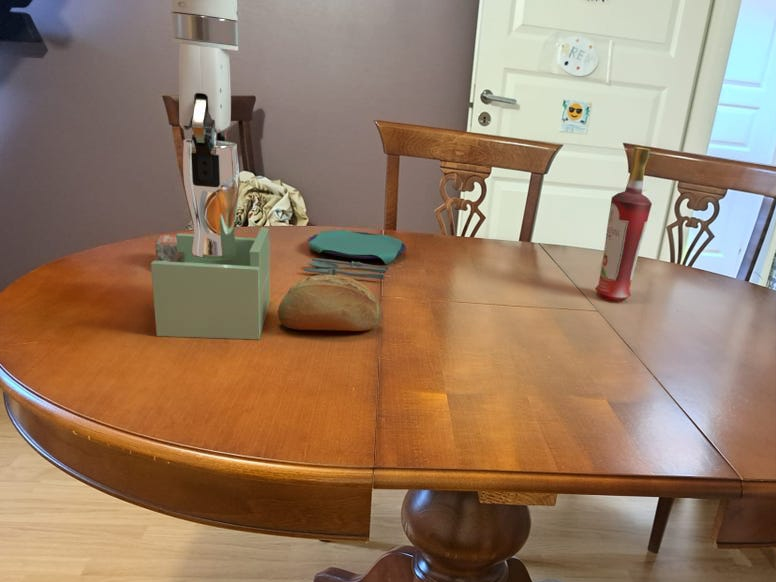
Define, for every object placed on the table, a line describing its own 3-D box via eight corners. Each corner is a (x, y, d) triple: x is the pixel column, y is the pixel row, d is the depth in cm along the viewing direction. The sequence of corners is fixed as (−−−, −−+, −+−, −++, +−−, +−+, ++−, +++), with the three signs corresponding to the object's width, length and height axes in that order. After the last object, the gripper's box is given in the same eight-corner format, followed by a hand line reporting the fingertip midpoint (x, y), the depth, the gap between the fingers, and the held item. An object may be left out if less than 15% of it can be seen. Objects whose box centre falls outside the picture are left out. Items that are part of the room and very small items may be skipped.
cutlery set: (410, 246, 147) (411, 236, 146) (393, 285, 119) (394, 273, 118) (320, 235, 146) (320, 225, 145) (282, 273, 119) (282, 260, 118)
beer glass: (244, 249, 96) (242, 142, 90) (237, 262, 90) (234, 148, 84) (193, 245, 95) (188, 136, 89) (182, 259, 89) (175, 142, 83)
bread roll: (384, 343, 95) (388, 289, 91) (275, 340, 91) (275, 284, 88) (379, 319, 103) (382, 269, 100) (279, 315, 100) (279, 264, 96)
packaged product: (152, 244, 109) (156, 229, 117) (154, 272, 111) (158, 256, 119) (266, 246, 115) (262, 232, 124) (267, 273, 117) (263, 257, 126)
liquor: (586, 291, 130) (614, 144, 119) (618, 292, 133) (649, 147, 122) (603, 304, 124) (635, 149, 113) (637, 304, 127) (671, 153, 116)
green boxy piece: (156, 336, 88) (149, 247, 83) (182, 297, 102) (177, 219, 97) (259, 339, 91) (258, 254, 86) (270, 301, 105) (269, 226, 100)
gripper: (187, 32, 88) (194, 168, 95) (155, 27, 73) (166, 190, 80) (246, 39, 90) (249, 173, 97) (227, 36, 75) (232, 195, 82)
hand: (211, 179), depth 88 cm, fingers closed on beer glass, 7 cm apart
